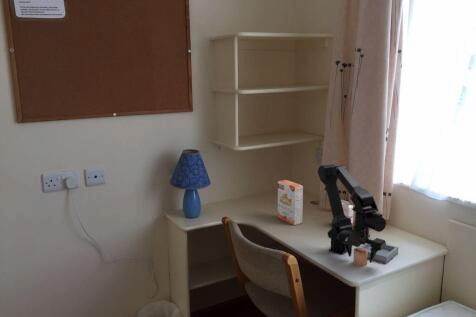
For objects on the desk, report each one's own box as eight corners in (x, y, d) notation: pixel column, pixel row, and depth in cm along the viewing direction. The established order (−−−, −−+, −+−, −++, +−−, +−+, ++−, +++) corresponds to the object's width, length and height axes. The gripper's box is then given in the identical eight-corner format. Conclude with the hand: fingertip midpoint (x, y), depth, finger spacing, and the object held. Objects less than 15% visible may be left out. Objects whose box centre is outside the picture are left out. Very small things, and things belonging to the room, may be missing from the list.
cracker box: (276, 218, 235) (277, 180, 231) (285, 216, 238) (286, 179, 234) (293, 226, 223) (294, 186, 219) (302, 223, 227) (303, 184, 222)
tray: (356, 255, 188) (357, 248, 188) (369, 246, 198) (370, 239, 197) (386, 263, 180) (386, 257, 179) (398, 253, 190) (398, 247, 189)
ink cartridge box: (353, 227, 220) (354, 200, 217) (348, 230, 217) (349, 202, 214) (338, 223, 226) (339, 196, 223) (333, 226, 223) (334, 198, 220)
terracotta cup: (350, 264, 180) (351, 250, 179) (356, 259, 184) (357, 246, 183) (363, 267, 177) (364, 253, 175) (369, 263, 181) (370, 249, 180)
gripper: (331, 223, 177) (330, 259, 180) (376, 234, 165) (373, 272, 168) (344, 216, 185) (343, 250, 188) (387, 226, 173) (385, 263, 177)
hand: (360, 259), depth 180 cm, fingers open, 9 cm apart
